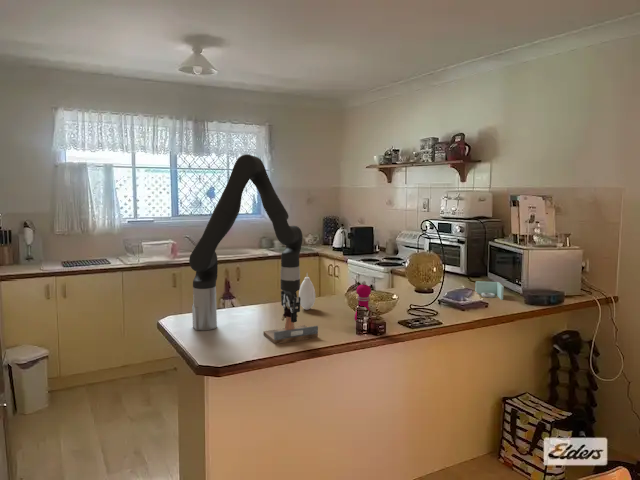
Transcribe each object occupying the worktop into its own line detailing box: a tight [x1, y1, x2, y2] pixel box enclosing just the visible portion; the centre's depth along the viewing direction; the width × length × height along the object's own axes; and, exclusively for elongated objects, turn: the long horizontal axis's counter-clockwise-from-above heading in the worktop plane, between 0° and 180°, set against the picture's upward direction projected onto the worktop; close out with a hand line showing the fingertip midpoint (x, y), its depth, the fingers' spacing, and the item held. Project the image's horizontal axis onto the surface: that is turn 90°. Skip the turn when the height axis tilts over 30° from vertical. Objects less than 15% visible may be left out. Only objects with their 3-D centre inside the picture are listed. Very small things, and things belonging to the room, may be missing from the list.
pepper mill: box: [354, 280, 372, 322], centre depth 200 cm, size 7×7×20 cm
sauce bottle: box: [298, 273, 316, 311], centre depth 229 cm, size 8×8×18 cm
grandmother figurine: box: [280, 302, 299, 330], centre depth 190 cm, size 8×4×13 cm, turn 144°
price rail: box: [274, 325, 319, 340], centre depth 185 cm, size 18×1×3 cm, turn 117°
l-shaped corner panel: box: [474, 280, 505, 301], centre depth 257 cm, size 12×12×8 cm
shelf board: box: [262, 324, 319, 345], centre depth 190 cm, size 18×12×2 cm, turn 117°
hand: (290, 319), depth 189 cm, fingers open, 6 cm apart
